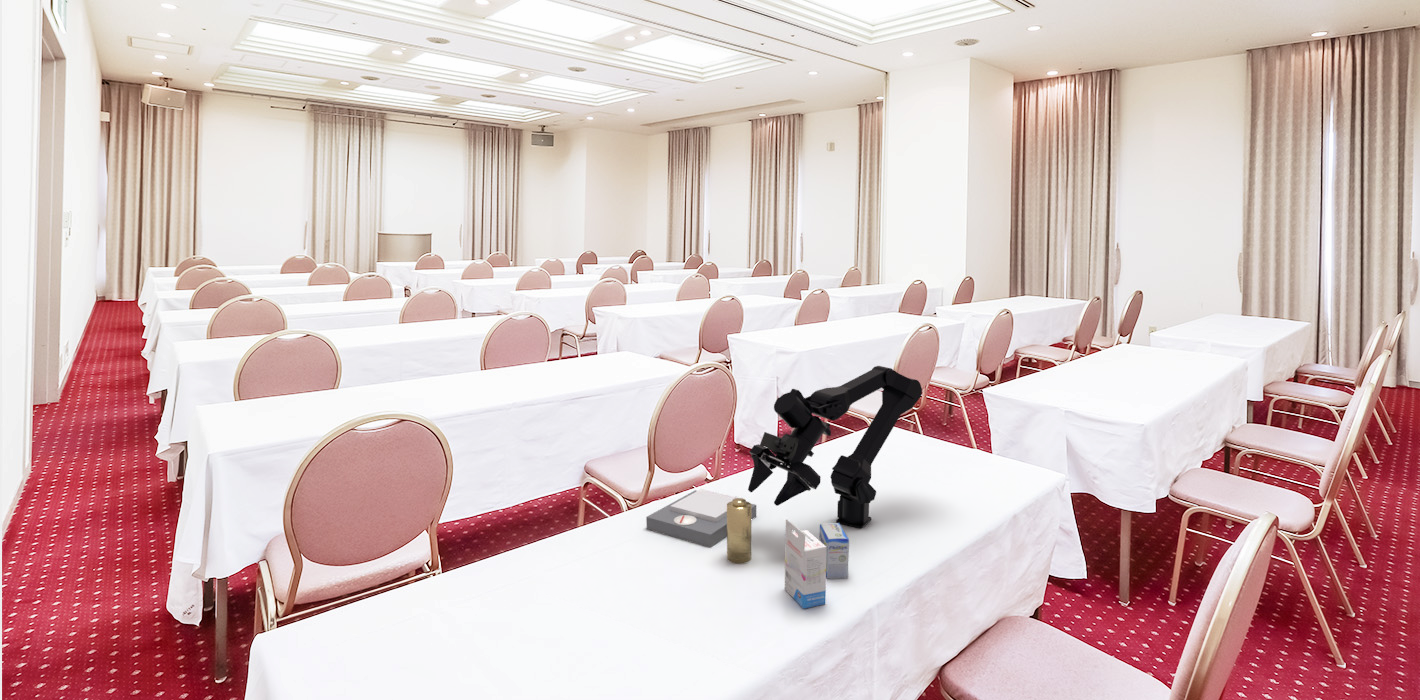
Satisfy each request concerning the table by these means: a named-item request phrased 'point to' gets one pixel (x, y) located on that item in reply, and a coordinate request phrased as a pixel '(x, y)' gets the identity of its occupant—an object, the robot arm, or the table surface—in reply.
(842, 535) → the medicine box
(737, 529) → the brass weight
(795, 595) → the ink box
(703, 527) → the scale
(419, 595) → the table surface
